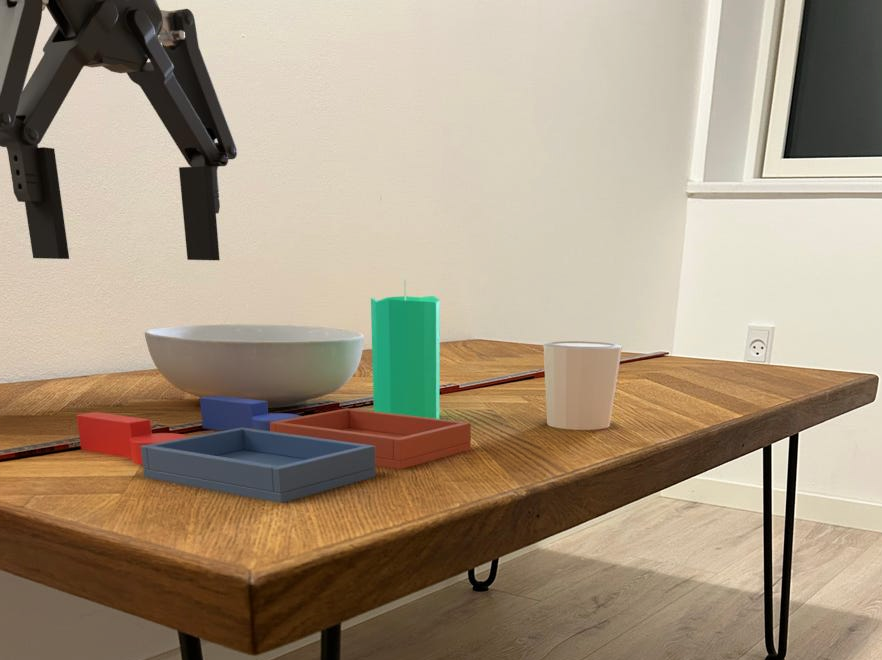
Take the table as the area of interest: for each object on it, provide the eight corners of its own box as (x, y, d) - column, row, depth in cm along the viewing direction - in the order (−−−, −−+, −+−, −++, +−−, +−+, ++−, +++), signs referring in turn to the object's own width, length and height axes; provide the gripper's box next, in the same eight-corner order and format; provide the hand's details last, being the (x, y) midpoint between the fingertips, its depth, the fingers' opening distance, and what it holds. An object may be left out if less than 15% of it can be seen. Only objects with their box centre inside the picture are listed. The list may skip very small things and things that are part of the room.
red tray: (271, 450, 72) (269, 422, 71) (348, 433, 79) (347, 408, 78) (400, 469, 66) (400, 439, 65) (470, 449, 73) (471, 422, 72)
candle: (416, 412, 90) (415, 278, 86) (452, 421, 86) (453, 280, 81) (361, 417, 87) (357, 278, 82) (396, 427, 82) (393, 280, 78)
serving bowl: (266, 426, 82) (260, 343, 79) (106, 405, 92) (97, 330, 89) (406, 399, 98) (405, 330, 96) (258, 384, 108) (254, 320, 106)
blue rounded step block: (192, 430, 79) (189, 398, 78) (227, 424, 83) (225, 393, 82) (279, 443, 75) (277, 409, 74) (312, 435, 78) (311, 403, 77)
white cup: (599, 434, 81) (604, 348, 78) (527, 426, 84) (530, 344, 81) (627, 423, 86) (633, 343, 84) (559, 416, 89) (563, 339, 87)
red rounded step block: (68, 452, 70) (62, 416, 69) (113, 444, 73) (108, 410, 72) (158, 468, 65) (154, 430, 64) (202, 459, 68) (199, 422, 67)
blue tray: (143, 477, 62) (140, 445, 62) (244, 455, 70) (242, 427, 69) (281, 503, 56) (279, 468, 56) (376, 476, 64) (375, 445, 63)
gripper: (-62, -188, 48) (8, 258, 56) (271, -55, 68) (289, 261, 76) (-143, -160, 52) (-66, 256, 60) (197, -41, 72) (221, 259, 80)
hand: (133, 260), depth 68 cm, fingers open, 13 cm apart
